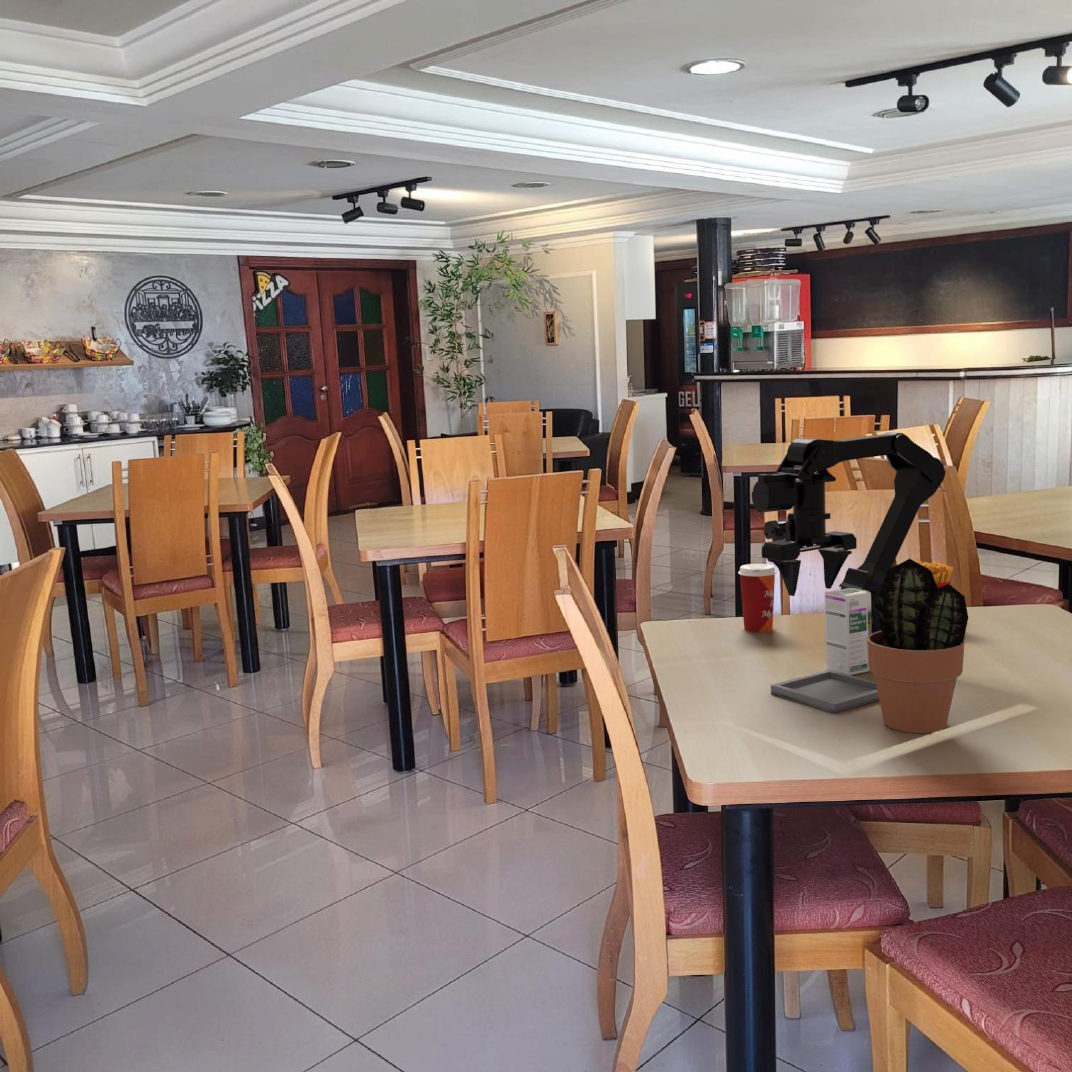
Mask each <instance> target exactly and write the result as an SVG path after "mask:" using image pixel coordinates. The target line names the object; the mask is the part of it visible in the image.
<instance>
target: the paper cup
mask: <svg viewBox="0 0 1072 1072" xmlns="http://www.w3.org/2000/svg"><path fill="white" fill-rule="evenodd" d="M775 569H776V568H775V566H774V565H772V564H768V563H748V564H743V565H741V566H740V567H739V571H738V572H737V573H738V575H739V579H740V592H741V603H742V604H741V605H742V618H743V619H742V620H743V628H744V630H745V631H747V632H750V633H767V632H768V633H769V632H771V631H773V628H774V627H773V626H774V624H773V623H774V604H775V582H776V580H775V578H776V574H777V571H776V570H775Z"/></svg>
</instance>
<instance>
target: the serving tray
mask: <svg viewBox="0 0 1072 1072" xmlns="http://www.w3.org/2000/svg"><path fill="white" fill-rule="evenodd" d="M770 695H774V696H777V697H780V698H784V699H786V700H790V701H794V702H797V703H800V704H803V705H807V706H810V707H813V708H816V709H820V710H823V711H826V712H828V713H832V714H838V713H841V712H845V711H848V710H852V709H855V708H858V707H861V706H866V705H868V704H871V703H874V702H880V701H879V696H878V692H877V687H876V682H875V680H870V679H868V678H867V679H866V678H863V677H859V676H856V675H855V676H854V675H848V674H844V673H840V672H837V671H833V670H827V669H826V670H823V671H819V672H815V673H811V674H807V675H804V676H800V677H795V678H792V679H788V680H784V681H780V682H777V683H773V684H770Z"/></svg>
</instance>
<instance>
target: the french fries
mask: <svg viewBox="0 0 1072 1072" xmlns="http://www.w3.org/2000/svg"><path fill="white" fill-rule="evenodd" d="M914 561H915V562H917V563H919V564H921V565H923V566H924V567H926V568H928V569H929V570H931V571H932V574H933V577H934V579H935V582H936V585H937V587H938V588H939V587H942V586H944V585H947V584H950V585H951V584H952V581H951V580H950V579H951V576H952V574H953V572H954V567H953V566H950V565H947V564H946V563H944V562H942V563H941V562H936V561H934V560H933V561H932V562H931V563H930V562H928V561H927V562H926V561H922V560H917V561H916V560H914Z"/></svg>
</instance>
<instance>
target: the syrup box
mask: <svg viewBox="0 0 1072 1072" xmlns="http://www.w3.org/2000/svg"><path fill="white" fill-rule="evenodd" d="M840 589H841V588H840ZM840 589H836V590H831V591H825V592H824V622H825V623H824V624H825V625H824V626H825V627H824V628H825V660H826V661H825V662H826V663H825V664H826V670H833V671H837V672H840V673H844V674H848V675H852V676H854V675H858V674H863V673H867V672H870V670H869V667H868V650H867V637H868V636H869V635H870V634H872V629H871V593H870V592H869V591H866V590H862V589H856V588H846V589H841V590H840Z"/></svg>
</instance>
